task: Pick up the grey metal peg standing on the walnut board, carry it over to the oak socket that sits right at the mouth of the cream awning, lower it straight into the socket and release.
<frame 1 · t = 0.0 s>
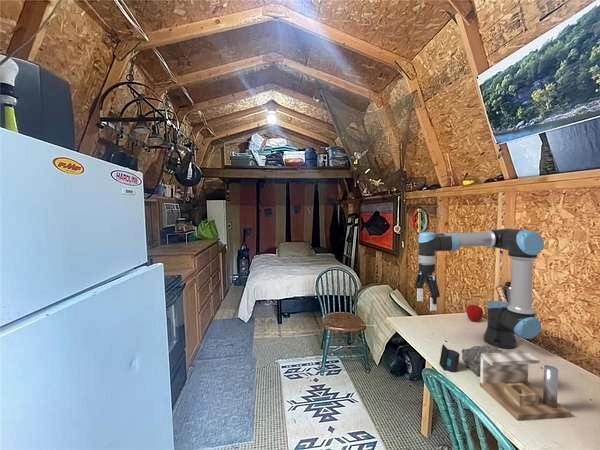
hand: (426, 305, 143), 28 cm above the table, fingers open, 13 cm apart
peg: (549, 404, 108), point 2 cm above the table, touching socket board
apple: (474, 321, 191), on the table
rock: (482, 369, 135), on the table
speaker: (449, 368, 136), on the table
socket board: (521, 400, 113), on the table
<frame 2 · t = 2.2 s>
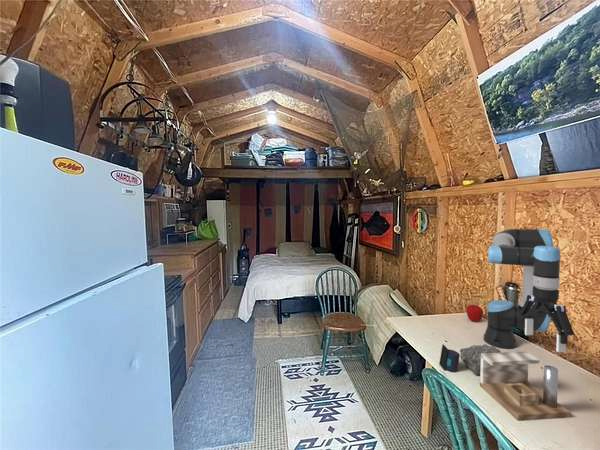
hand: (543, 342, 108), 25 cm above the table, fingers open, 13 cm apart
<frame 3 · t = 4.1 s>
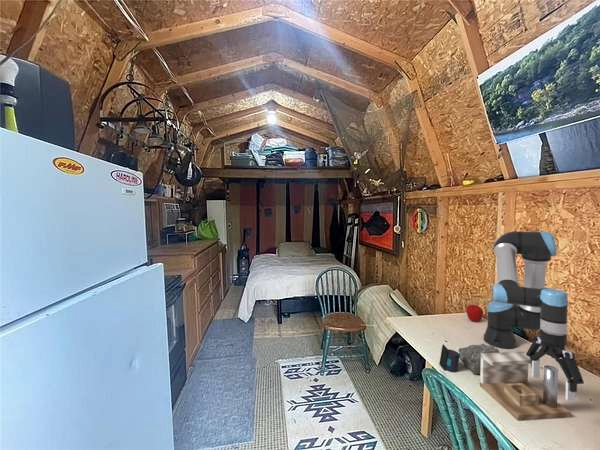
hand: (551, 387, 106), 9 cm above the table, fingers open, 13 cm apart
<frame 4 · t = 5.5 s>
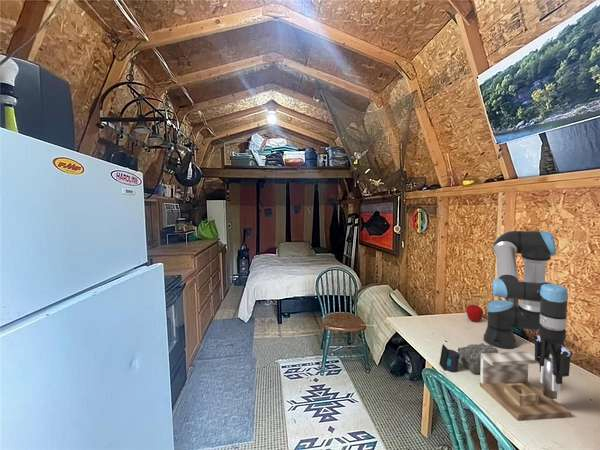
hand: (550, 386, 108), 9 cm above the table, fingers closed on peg, 4 cm apart
peg: (549, 395, 108), point 5 cm above the table, touching gripper
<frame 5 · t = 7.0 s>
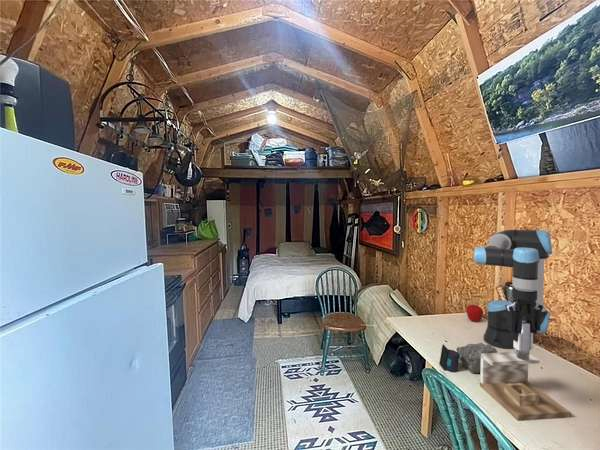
hand: (522, 348, 109), 22 cm above the table, fingers closed on peg, 4 cm apart
peg: (522, 357, 110), point 19 cm above the table, touching gripper
when the fingers open (7 cm above the table, at t = 9.1 s): peg stays where it is, resting on socket board.
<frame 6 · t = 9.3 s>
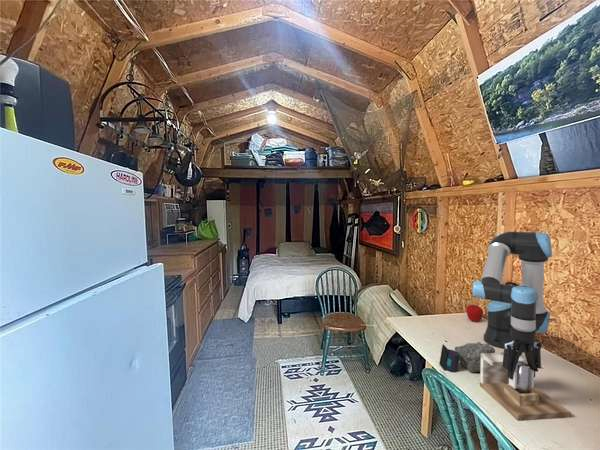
hand: (521, 385, 111), 7 cm above the table, fingers open, 6 cm apart
peg: (520, 398, 111), point 2 cm above the table, touching socket board
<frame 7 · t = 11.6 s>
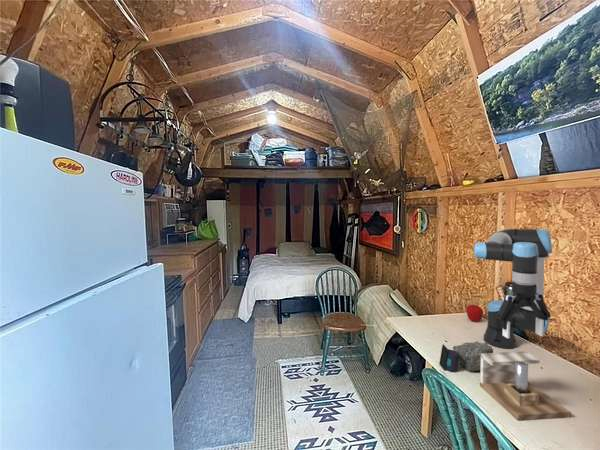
hand: (522, 336, 111), 26 cm above the table, fingers open, 13 cm apart
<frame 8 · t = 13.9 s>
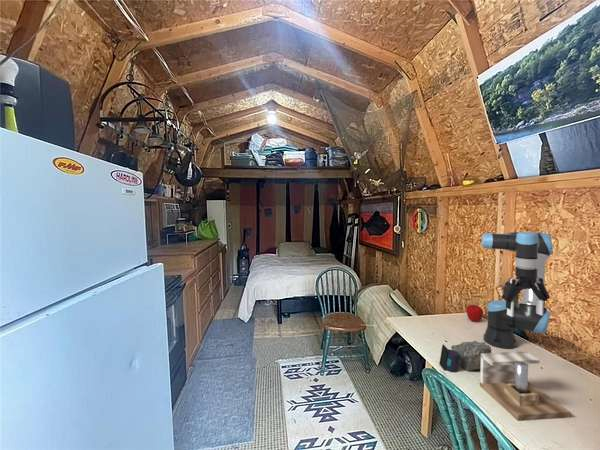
hand: (524, 315, 126), 29 cm above the table, fingers open, 13 cm apart
at the end: peg 0.0 cm from the target spot on the socket board, point 2.0 cm above the socket board's base; peg tilted 0°; the gripper is holding nothing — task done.
